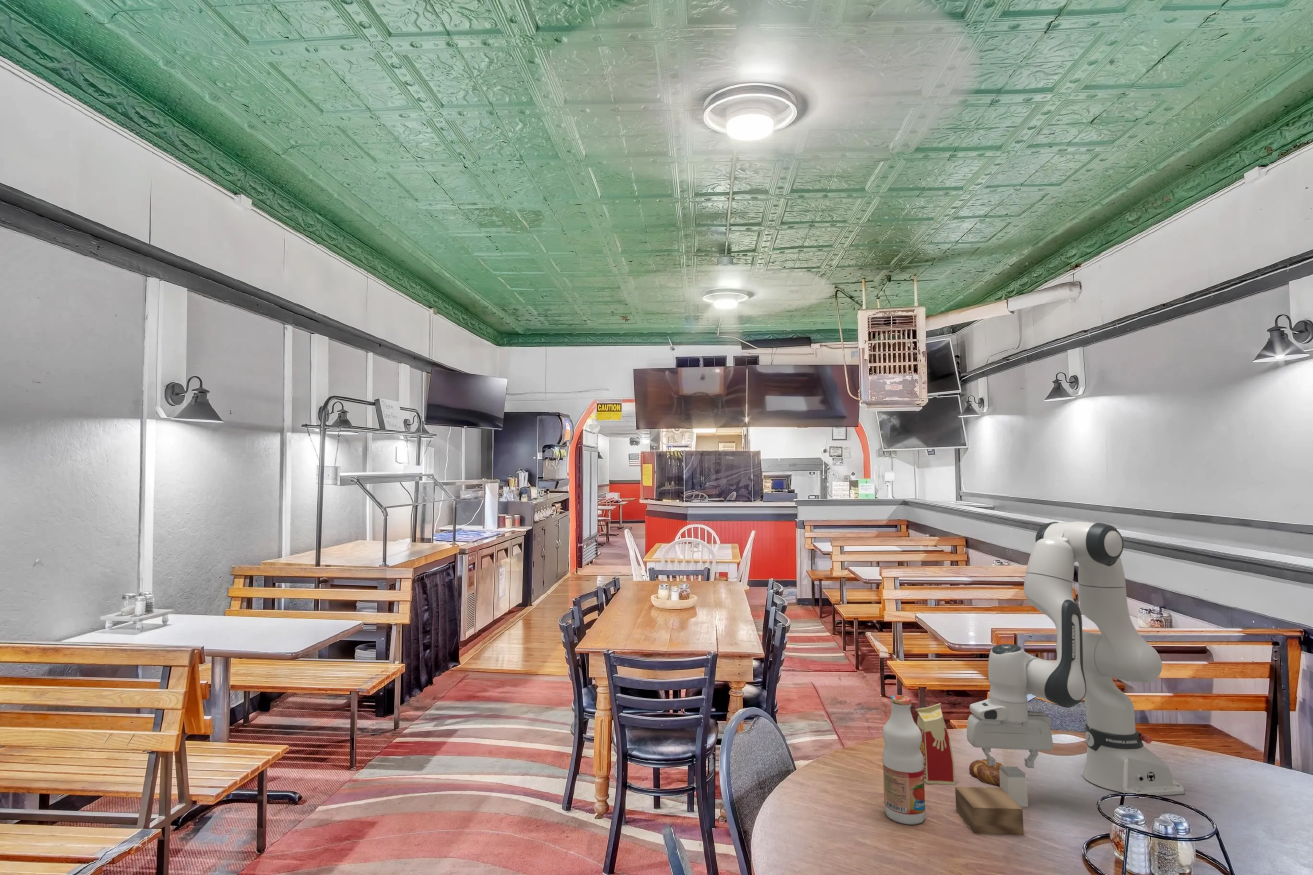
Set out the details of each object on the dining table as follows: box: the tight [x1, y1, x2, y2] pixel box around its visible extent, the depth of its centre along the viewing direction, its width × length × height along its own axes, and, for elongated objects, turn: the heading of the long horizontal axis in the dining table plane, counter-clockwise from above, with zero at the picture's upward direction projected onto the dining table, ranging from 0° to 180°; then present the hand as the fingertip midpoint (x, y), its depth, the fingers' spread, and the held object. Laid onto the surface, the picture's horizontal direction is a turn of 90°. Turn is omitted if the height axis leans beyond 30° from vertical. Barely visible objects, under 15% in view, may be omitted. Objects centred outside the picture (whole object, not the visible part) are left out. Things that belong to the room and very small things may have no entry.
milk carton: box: [915, 702, 956, 786], centre depth 182 cm, size 9×9×20 cm
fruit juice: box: [882, 694, 926, 825], centre depth 160 cm, size 9×9×28 cm
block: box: [954, 786, 1025, 836], centre depth 156 cm, size 11×11×6 cm
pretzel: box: [968, 758, 1005, 787], centre depth 181 cm, size 12×11×4 cm
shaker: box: [999, 765, 1029, 808], centre depth 167 cm, size 5×5×8 cm
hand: (1010, 766), depth 167 cm, fingers open, 8 cm apart
